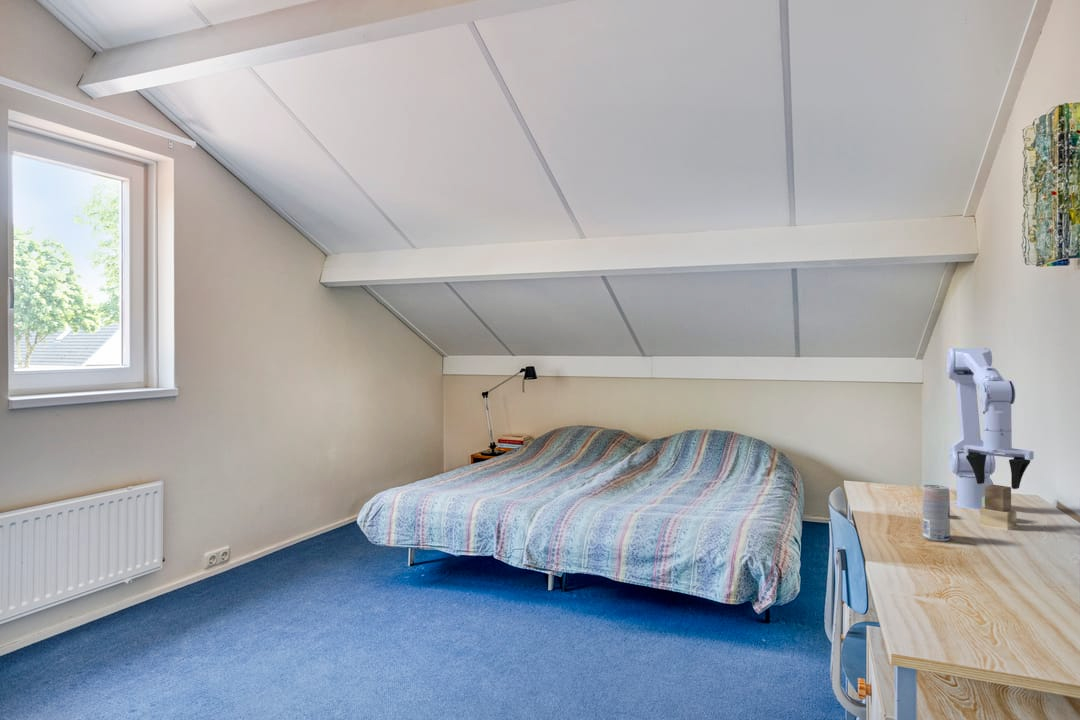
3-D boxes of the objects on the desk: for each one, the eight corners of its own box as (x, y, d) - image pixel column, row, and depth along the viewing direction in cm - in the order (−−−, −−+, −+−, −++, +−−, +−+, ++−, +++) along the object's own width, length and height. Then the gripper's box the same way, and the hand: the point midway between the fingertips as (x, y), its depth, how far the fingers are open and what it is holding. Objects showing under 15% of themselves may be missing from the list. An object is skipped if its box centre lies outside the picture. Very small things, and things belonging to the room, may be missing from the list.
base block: (989, 521, 165) (989, 505, 165) (1016, 526, 160) (1016, 510, 160) (980, 524, 163) (979, 508, 163) (1007, 529, 158) (1007, 512, 158)
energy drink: (948, 537, 154) (947, 485, 154) (951, 543, 149) (951, 489, 149) (921, 534, 156) (921, 484, 156) (924, 540, 151) (923, 488, 151)
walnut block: (984, 508, 162) (984, 486, 162) (993, 506, 164) (992, 484, 164) (1003, 511, 159) (1002, 489, 159) (1011, 509, 161) (1011, 487, 161)
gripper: (956, 428, 166) (957, 483, 166) (1023, 434, 153) (1023, 492, 153) (971, 426, 169) (972, 479, 169) (1037, 431, 157) (1038, 489, 157)
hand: (997, 485), depth 161 cm, fingers open, 7 cm apart
